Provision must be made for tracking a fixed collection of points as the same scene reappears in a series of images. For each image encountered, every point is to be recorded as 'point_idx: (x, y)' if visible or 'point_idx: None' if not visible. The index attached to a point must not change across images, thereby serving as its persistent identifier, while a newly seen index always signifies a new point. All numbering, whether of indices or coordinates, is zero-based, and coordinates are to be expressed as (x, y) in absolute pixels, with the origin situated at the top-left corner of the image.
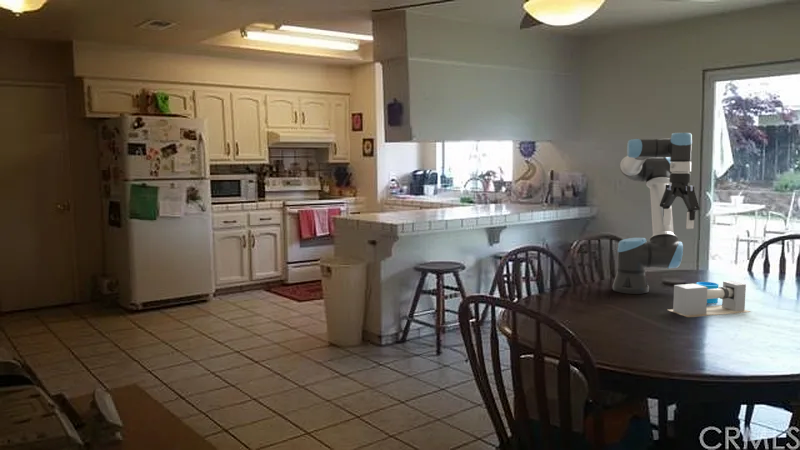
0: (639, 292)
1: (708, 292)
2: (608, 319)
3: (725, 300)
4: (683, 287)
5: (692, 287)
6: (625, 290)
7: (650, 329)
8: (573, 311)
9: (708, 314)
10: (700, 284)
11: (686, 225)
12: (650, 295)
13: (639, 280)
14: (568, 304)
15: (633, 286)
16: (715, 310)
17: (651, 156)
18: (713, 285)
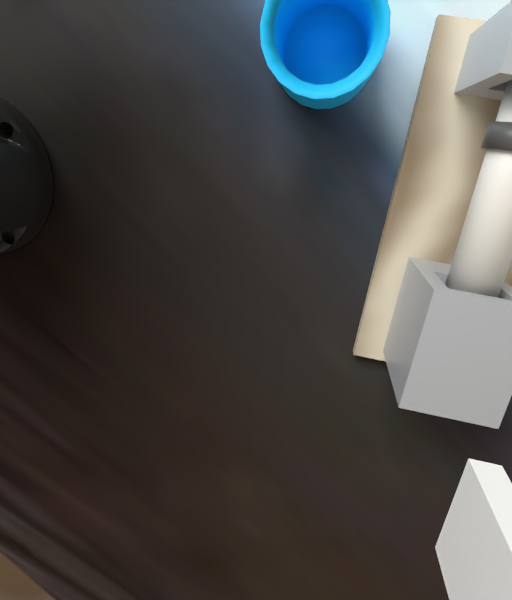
0: (49, 196)
1: (509, 263)
2: (326, 567)
3: (488, 92)
4: (467, 416)
5: (495, 381)
6: (19, 246)
7: None
8: (197, 576)
9: (506, 275)
10: (319, 91)
11: (448, 590)
12: (90, 169)
13: (2, 193)
14: (113, 529)
15: (22, 223)
16: None
17: None
18: (379, 38)
